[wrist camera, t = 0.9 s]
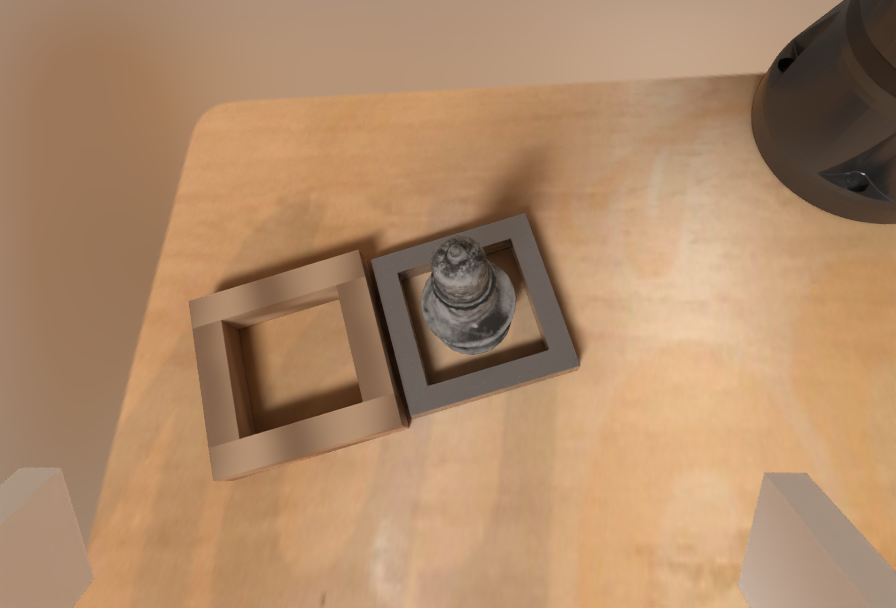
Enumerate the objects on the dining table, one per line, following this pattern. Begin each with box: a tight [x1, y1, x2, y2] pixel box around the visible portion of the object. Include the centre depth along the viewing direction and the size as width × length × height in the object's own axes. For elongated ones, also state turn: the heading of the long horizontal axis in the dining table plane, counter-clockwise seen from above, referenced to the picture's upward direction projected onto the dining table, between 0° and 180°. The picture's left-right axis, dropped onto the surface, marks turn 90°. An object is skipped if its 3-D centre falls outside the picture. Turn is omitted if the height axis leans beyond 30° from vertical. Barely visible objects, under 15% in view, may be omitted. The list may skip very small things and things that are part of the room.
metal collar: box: [371, 213, 580, 419], centre depth 37 cm, size 11×11×2 cm
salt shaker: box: [421, 235, 516, 355], centre depth 32 cm, size 6×6×12 cm
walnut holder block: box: [189, 250, 409, 481], centre depth 37 cm, size 12×12×2 cm
